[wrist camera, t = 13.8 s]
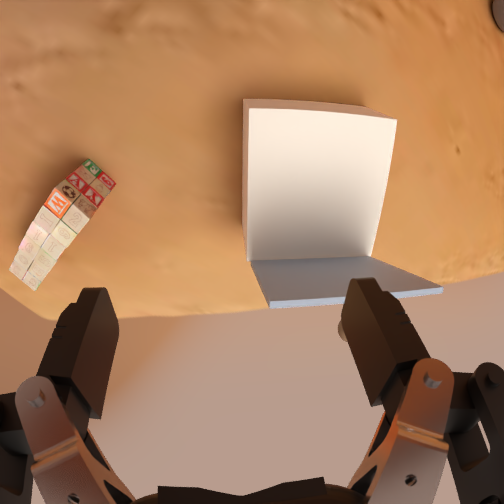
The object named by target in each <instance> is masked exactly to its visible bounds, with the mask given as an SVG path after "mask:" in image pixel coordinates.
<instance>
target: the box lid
mask: <svg viewBox="0 0 504 504" xmlns="http://www.w3.org/2000/svg"><path fill="white" fill-rule="evenodd" d="M251 267H252V269H253V271H254V273H255V276H256V278H257V280H258V283H259V285H260V287H261V290H262V292H263V294H264V296H265V299H266V301H267V303H268V306H269V308H270V309H272V308H289V307H305V306H319V305H331V304H344V301H345V298H346V294H347V290H348V286H349V282H350V280H351V279H352V278H365V277H374V278H375V279H376V281H377V282H378V284H379V286H380V288H381V289H382V291H388V292H390V293H391V294H392V295H393V296H394V297H395V298H405V297H413V296H422V295H431V294H438V293H443V287H442V286H440V285H438V284H435V283H433V282H431V281H428V280H426V279H423V278H421V277H419V276H416V275H414V274H411V273H409V272H407V271H404V270H402V269H399V268H397V267H395V266H392V265H390V264H387V263H385V262H382V261H380V260H377V259H375V258H372V257H370V256H356V257H331V258H306V259H279V260H251ZM338 333H339V335H340V337H341V338H342V339H343V340H344V341H346V342H348V341H347V339H346V336H345V333H344V331H343V328H342V322H341V321H340V322H339V325H338Z"/></svg>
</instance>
